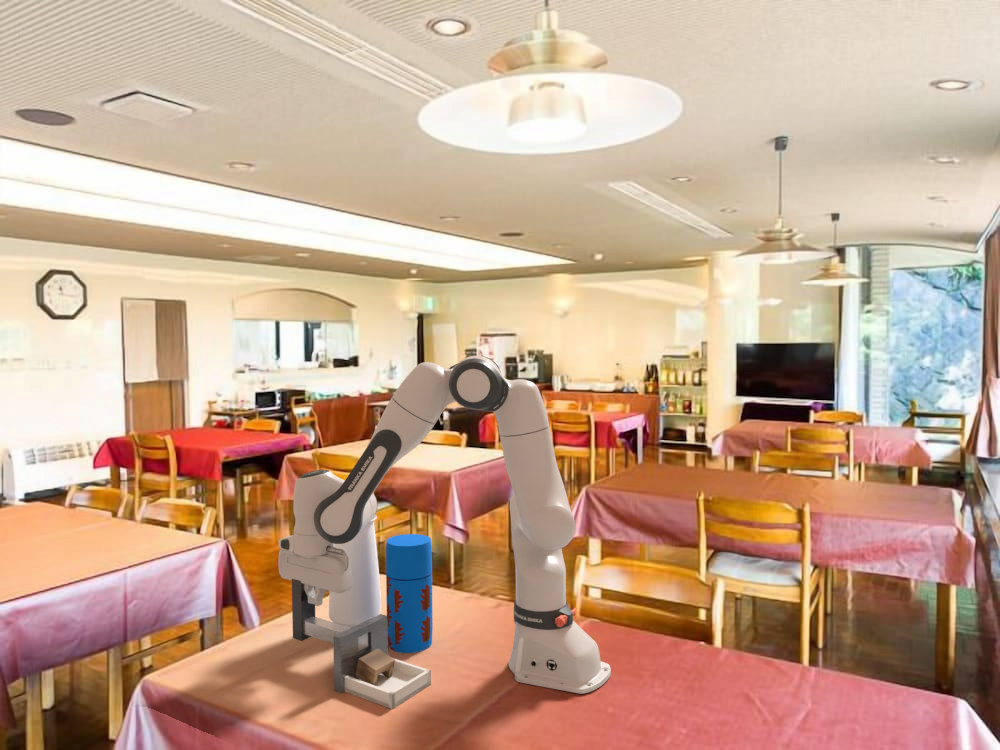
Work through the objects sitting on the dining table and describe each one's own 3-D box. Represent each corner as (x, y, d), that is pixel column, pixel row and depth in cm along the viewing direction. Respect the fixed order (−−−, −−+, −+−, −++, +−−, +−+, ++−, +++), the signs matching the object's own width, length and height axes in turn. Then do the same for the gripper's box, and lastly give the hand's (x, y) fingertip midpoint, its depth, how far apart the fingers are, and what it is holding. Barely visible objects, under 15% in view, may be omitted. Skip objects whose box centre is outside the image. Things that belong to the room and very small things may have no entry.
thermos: (427, 631, 175) (426, 532, 174) (437, 649, 165) (436, 543, 163) (383, 637, 171) (382, 536, 170) (390, 656, 161) (389, 548, 160)
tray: (430, 684, 148) (430, 670, 148) (392, 709, 138) (391, 694, 138) (384, 668, 155) (384, 655, 155) (344, 691, 145) (344, 677, 145)
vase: (364, 613, 187) (362, 508, 186) (391, 627, 177) (390, 517, 176) (319, 626, 178) (317, 517, 177) (346, 642, 169) (344, 526, 167)
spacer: (391, 676, 150) (395, 659, 149) (372, 687, 145) (375, 670, 144) (374, 664, 152) (378, 648, 151) (355, 675, 147) (358, 658, 147)
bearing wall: (388, 667, 156) (387, 615, 155) (341, 693, 144) (340, 638, 144) (381, 664, 157) (380, 614, 156) (334, 690, 145) (333, 636, 145)
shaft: (369, 652, 152) (369, 588, 151) (356, 659, 148) (355, 594, 148) (306, 632, 163) (305, 572, 162) (292, 638, 159) (291, 577, 159)
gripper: (358, 546, 154) (359, 609, 154) (295, 533, 165) (295, 591, 166) (337, 554, 148) (337, 618, 149) (273, 539, 160) (274, 599, 160)
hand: (315, 604), depth 157 cm, fingers closed
